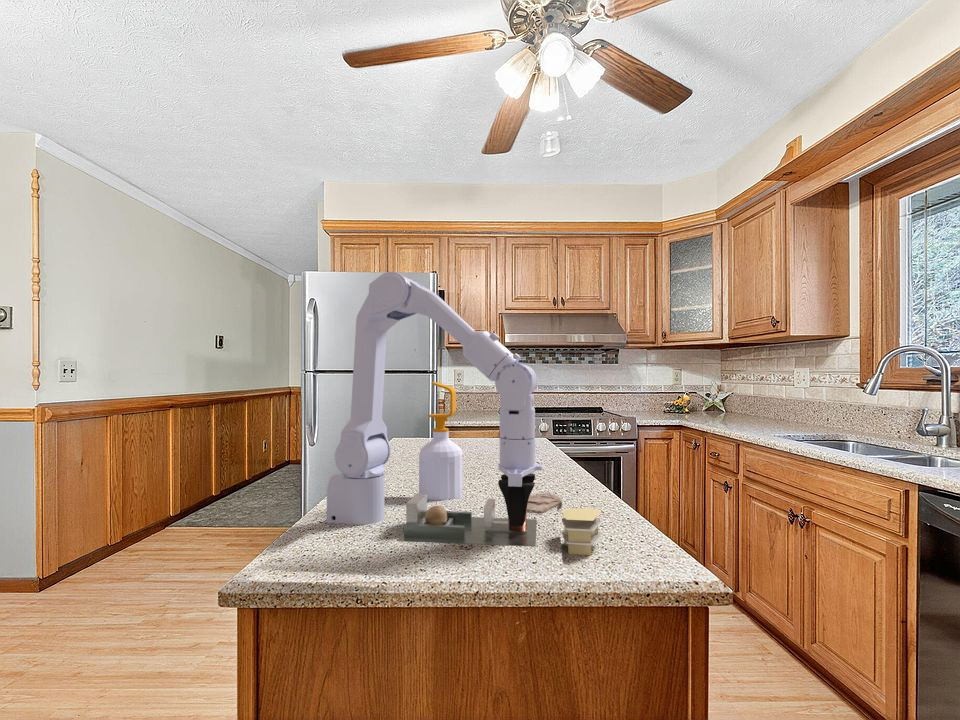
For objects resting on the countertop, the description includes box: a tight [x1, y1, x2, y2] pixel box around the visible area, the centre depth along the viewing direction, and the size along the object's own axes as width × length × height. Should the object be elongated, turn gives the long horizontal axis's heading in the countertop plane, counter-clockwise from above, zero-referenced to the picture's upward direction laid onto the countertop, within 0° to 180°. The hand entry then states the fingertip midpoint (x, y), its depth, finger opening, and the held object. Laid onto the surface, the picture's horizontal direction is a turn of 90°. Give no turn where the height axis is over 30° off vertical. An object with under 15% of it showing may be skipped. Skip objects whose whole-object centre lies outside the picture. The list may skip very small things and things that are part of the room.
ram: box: [483, 498, 528, 532], centre depth 85 cm, size 7×6×6 cm
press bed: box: [396, 492, 538, 548], centre depth 86 cm, size 21×14×6 cm, turn 83°
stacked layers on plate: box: [561, 507, 602, 556], centre depth 80 cm, size 10×9×6 cm
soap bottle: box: [418, 381, 463, 501], centre depth 110 cm, size 9×9×25 cm
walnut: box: [425, 505, 447, 525], centre depth 86 cm, size 4×4×4 cm
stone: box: [527, 492, 563, 514], centre depth 101 cm, size 11×12×3 cm
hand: (517, 522), depth 85 cm, fingers closed on ram, 3 cm apart
